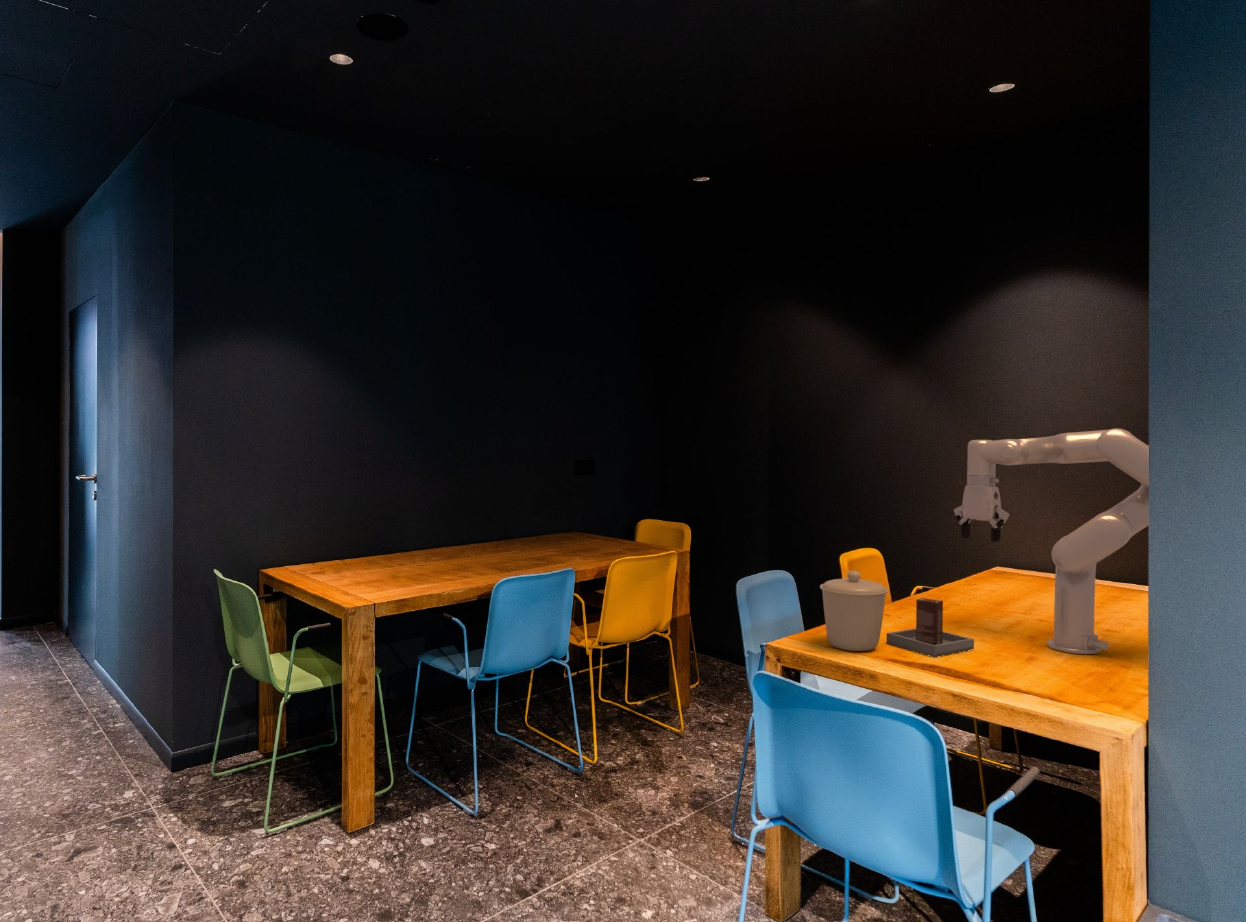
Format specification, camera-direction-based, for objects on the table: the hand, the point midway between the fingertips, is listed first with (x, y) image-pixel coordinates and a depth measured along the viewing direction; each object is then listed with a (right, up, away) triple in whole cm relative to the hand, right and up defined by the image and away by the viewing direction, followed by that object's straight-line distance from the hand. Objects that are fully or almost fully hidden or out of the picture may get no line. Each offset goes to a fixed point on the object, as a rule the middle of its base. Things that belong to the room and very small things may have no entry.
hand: (980, 539), depth 222 cm
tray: (-20, -28, -13) cm, 37 cm away
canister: (-42, -29, -13) cm, 52 cm away
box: (-20, -28, -13) cm, 36 cm away
